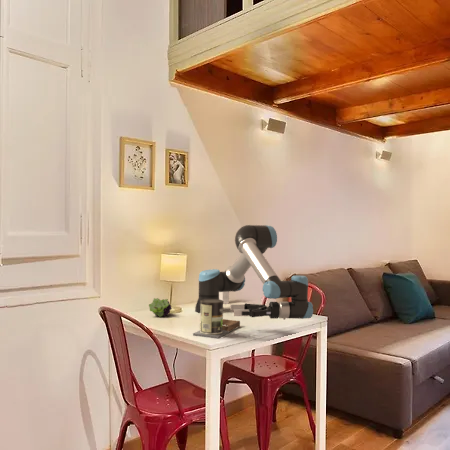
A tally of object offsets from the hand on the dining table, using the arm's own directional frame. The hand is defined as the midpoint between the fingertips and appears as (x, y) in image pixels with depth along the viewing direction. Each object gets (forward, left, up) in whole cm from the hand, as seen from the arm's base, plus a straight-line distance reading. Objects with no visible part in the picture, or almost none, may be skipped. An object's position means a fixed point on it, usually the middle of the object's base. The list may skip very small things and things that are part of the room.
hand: (232, 310), depth 203 cm
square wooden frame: (-10, +9, -11) cm, 17 cm away
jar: (-38, +73, -11) cm, 83 cm away
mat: (-8, -5, -11) cm, 14 cm away
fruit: (-49, +19, -11) cm, 53 cm away
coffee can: (-8, -4, -10) cm, 14 cm away
